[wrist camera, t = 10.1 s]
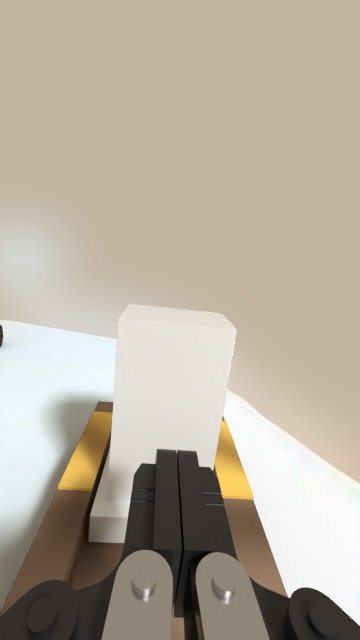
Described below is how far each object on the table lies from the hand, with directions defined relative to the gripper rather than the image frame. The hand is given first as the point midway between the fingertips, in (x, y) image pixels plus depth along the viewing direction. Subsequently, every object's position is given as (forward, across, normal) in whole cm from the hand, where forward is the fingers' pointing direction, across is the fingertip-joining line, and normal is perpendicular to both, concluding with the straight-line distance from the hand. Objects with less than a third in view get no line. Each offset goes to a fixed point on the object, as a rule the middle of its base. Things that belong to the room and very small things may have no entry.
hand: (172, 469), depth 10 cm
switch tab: (+7, 0, +8) cm, 11 cm away
